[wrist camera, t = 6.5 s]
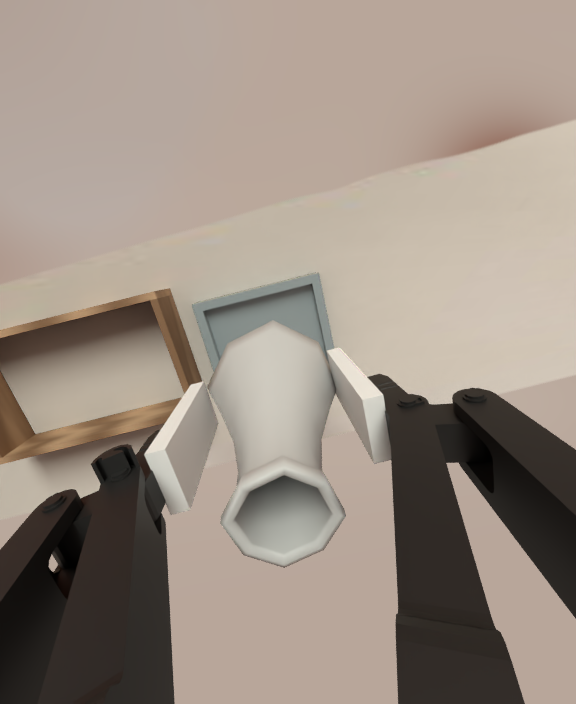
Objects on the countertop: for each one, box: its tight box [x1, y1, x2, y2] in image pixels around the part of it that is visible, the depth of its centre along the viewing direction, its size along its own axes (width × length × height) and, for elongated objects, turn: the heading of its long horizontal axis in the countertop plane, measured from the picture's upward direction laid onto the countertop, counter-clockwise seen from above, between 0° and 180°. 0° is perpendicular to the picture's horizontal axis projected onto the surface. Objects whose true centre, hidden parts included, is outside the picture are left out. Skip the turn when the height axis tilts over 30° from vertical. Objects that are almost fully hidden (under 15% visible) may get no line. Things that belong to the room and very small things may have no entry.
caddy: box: [0, 289, 202, 464], centre depth 28 cm, size 19×12×4 cm, turn 104°
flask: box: [208, 320, 346, 568], centre depth 13 cm, size 7×7×10 cm
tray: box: [192, 273, 334, 371], centre depth 29 cm, size 12×10×2 cm
